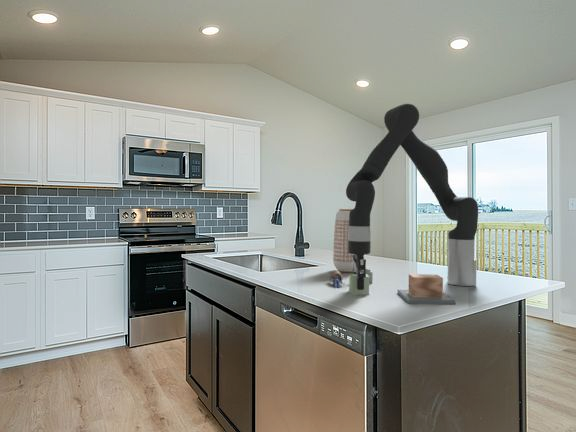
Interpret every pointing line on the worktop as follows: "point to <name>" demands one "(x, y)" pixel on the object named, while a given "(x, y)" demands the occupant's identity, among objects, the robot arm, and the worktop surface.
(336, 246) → the patterned vase
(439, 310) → the worktop surface
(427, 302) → the baseplate
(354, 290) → the top block
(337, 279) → the figurine
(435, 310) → the worktop surface
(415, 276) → the base block
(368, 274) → the lighter
